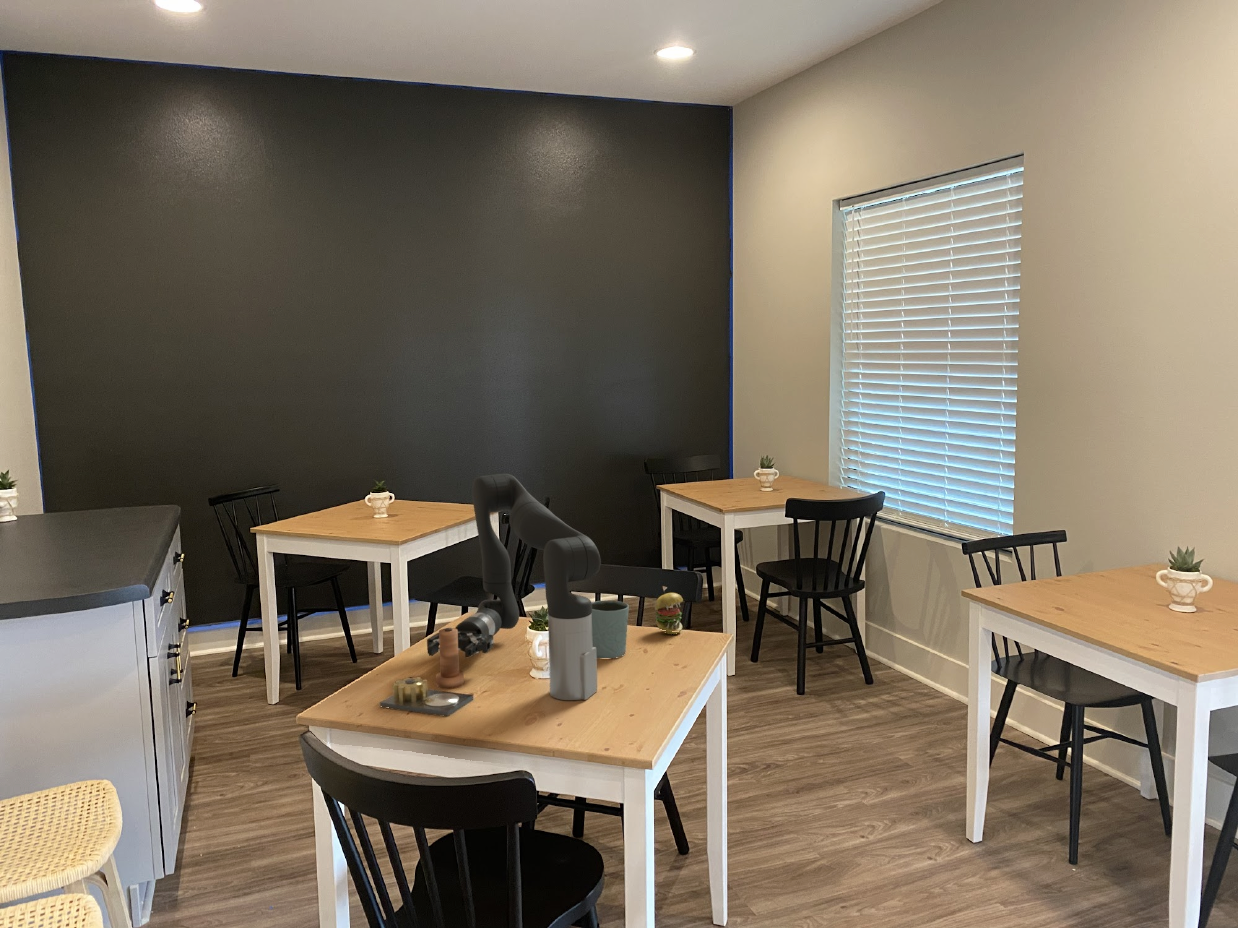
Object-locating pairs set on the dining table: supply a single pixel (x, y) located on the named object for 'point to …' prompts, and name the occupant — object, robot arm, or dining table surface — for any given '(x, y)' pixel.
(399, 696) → the sun gear
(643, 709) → the dining table surface
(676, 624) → the hamburger
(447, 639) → the brown round post
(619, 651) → the teal cup
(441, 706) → the carrier plate
